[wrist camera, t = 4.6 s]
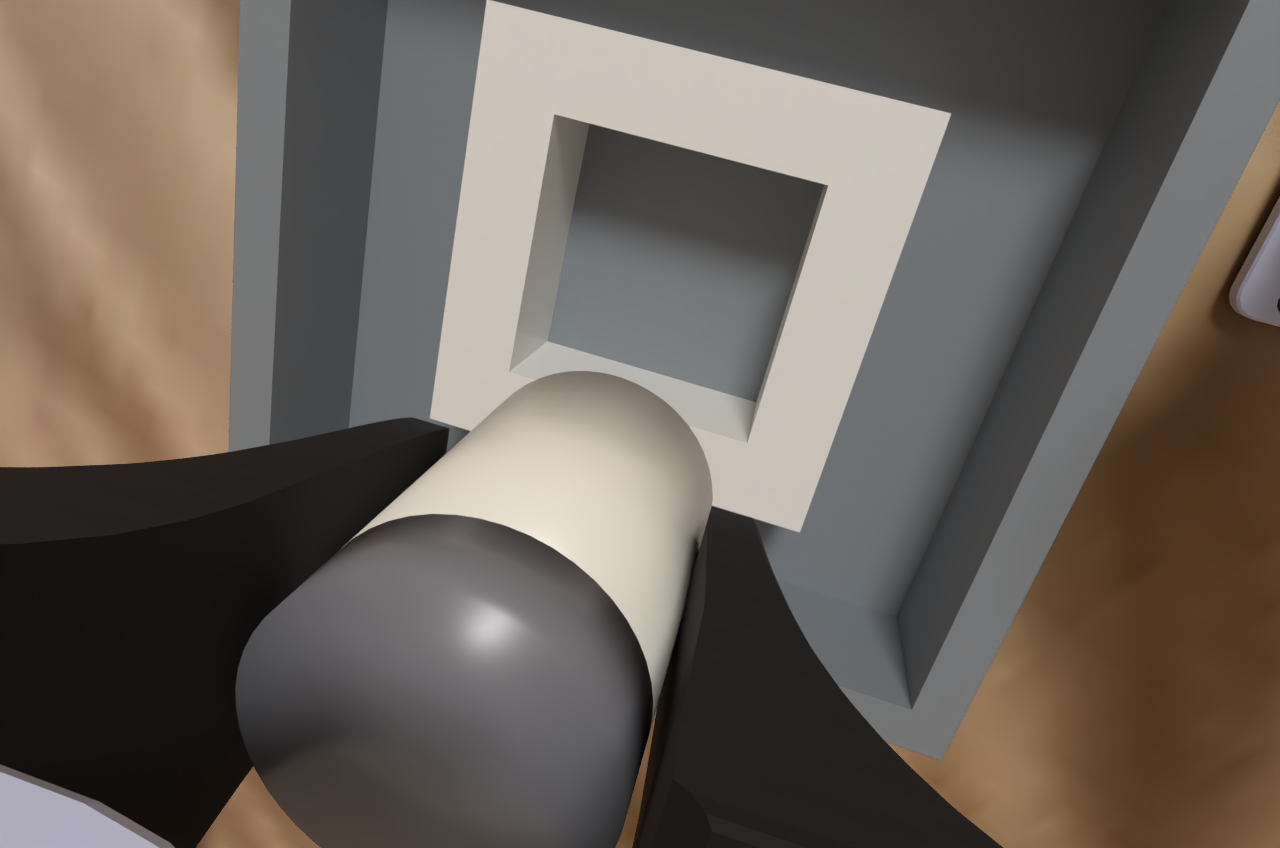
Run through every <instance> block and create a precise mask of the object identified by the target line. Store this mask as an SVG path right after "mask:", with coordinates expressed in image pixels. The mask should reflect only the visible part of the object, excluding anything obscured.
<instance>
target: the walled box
mask: <svg viewBox="0 0 1280 848" xmlns="http://www.w3.org/2000/svg"><path fill="white" fill-rule="evenodd" d="M486 1H487V0H240V30H239V69H238V107H237V146H236V184H235V222H234V261H233V299H232V338H231V376H230V414H229V452H232V451H238V450H243V449H249V448H254V447H260V446H265V445H270V444H276V443H281V442H287V441H292V440H297V439H301V438H306V437H311V436H315V435H320V434H324V433H329V432H333V431H338V430H342V429H347V428H352V427H356V426H361V425H365V424H370V423H375V422H380V421H385V420H391V419H398V418H409V417H413V418H416V419H420V420H423V421H427V422H430V423H433V424H437V425H440V426H444V427H447V428H450V429H449V437H448V444H447V452H448V451H449V450H451V449H452V448H453V447H454V446H455V445H456V444H457V443H458V442H459V441H460V440H462V439H463V438H464V437H465V436H466V435H467V434H468V433H469V432H470V431H469V430H466V429H463V428H459V427H456V426H453V425H450V424H446V423H443V422H440V421H437V420H433V419H430V413H431V406H432V398H433V391H434V384H435V376H436V369H437V362H438V354H439V347H440V339H441V332H442V325H443V317H444V310H445V303H446V295H447V288H448V281H449V273H450V266H451V259H452V251H453V244H454V236H455V229H456V222H457V214H458V207H459V200H460V192H461V185H462V178H463V170H464V163H465V156H466V148H467V141H468V133H469V126H470V119H471V111H472V104H473V97H474V89H475V82H476V75H477V67H478V60H479V53H480V45H481V38H482V31H483V23H484V16H485V8H486ZM492 1H496V2H500V3H504V4H508V5H512V6H516V7H520V8H524V9H528V10H532V11H536V12H540V13H544V14H549V15H553V16H557V17H561V18H565V19H569V20H573V21H577V22H581V23H585V24H589V25H593V26H597V27H601V28H605V29H610V30H614V31H618V32H622V33H626V34H630V35H634V36H638V37H642V38H646V39H650V40H654V41H658V42H662V43H667V44H671V45H675V46H679V47H683V48H687V49H691V50H695V51H699V52H703V53H707V54H711V55H715V56H719V57H724V58H728V59H732V60H736V61H740V62H744V63H748V64H752V65H756V66H760V67H764V68H768V69H772V70H776V71H781V72H785V73H789V74H793V75H797V76H801V77H805V78H809V79H813V80H817V81H821V82H825V83H829V84H833V85H837V86H842V87H846V88H850V89H854V90H858V91H862V92H866V93H870V94H874V95H878V96H882V97H886V98H890V99H894V100H899V101H903V102H907V103H911V104H915V105H919V106H923V107H927V108H931V109H935V110H939V111H943V112H947V113H951V116H950V119H949V122H948V124H947V127H946V130H945V133H944V135H943V138H942V141H941V144H940V147H939V149H938V152H937V155H936V158H935V160H934V163H933V166H932V169H931V171H930V174H929V177H928V180H927V182H926V185H925V188H924V191H923V194H922V196H921V199H920V202H919V205H918V207H917V210H916V213H915V216H914V218H913V221H912V224H911V227H910V230H909V232H908V235H907V238H906V241H905V243H904V246H903V249H902V252H901V254H900V257H899V260H898V263H897V265H896V268H895V271H894V274H893V277H892V279H891V282H890V285H889V288H888V290H887V293H886V296H885V299H884V301H883V304H882V307H881V310H880V312H879V315H878V318H877V321H876V324H875V326H874V329H873V332H872V335H871V337H870V340H869V343H868V346H867V348H866V351H865V354H864V357H863V359H862V362H861V365H860V368H859V371H858V373H857V376H856V379H855V382H854V384H853V387H852V390H851V393H850V395H849V398H848V401H847V404H846V406H845V409H844V412H843V415H842V418H841V420H840V423H839V426H838V429H837V431H836V434H835V437H834V440H833V442H832V445H831V448H830V451H829V454H828V456H827V459H826V462H825V465H824V467H823V470H822V473H821V476H820V478H819V481H818V484H817V487H816V489H815V492H814V495H813V498H812V501H811V503H810V506H809V509H808V512H807V514H806V517H805V520H804V523H803V525H802V528H801V531H800V533H799V532H796V531H793V530H790V529H787V528H783V527H780V526H777V525H774V524H770V523H767V522H764V521H761V520H757V519H754V518H753V519H754V521H755V523H756V524H757V526H758V529H759V533H760V536H761V539H762V543H763V546H764V549H765V551H766V554H767V557H768V560H769V562H770V565H771V567H772V570H773V572H774V575H775V577H776V580H777V582H778V584H779V586H780V588H781V590H782V593H783V595H784V597H785V599H786V601H787V604H788V606H789V608H790V610H791V612H792V614H793V616H794V617H795V619H796V621H797V623H798V625H799V627H800V629H801V630H802V632H803V634H804V636H805V637H806V639H807V641H808V643H809V645H810V646H811V648H812V649H813V651H814V652H815V654H816V655H817V657H818V658H819V660H820V661H821V662H822V664H823V665H824V667H825V668H826V669H827V671H828V672H829V674H830V675H831V676H832V678H833V679H834V681H835V682H836V683H837V685H838V686H839V688H840V689H841V690H842V692H843V693H844V694H845V695H846V697H847V698H848V699H849V700H850V702H851V703H852V704H853V705H854V706H855V708H856V709H857V710H858V711H859V712H860V713H861V715H862V716H863V717H864V718H865V719H866V720H867V721H868V723H869V724H870V725H871V726H872V727H873V728H874V729H875V730H876V732H877V733H878V734H879V735H880V736H881V737H882V738H883V740H884V741H885V742H887V743H890V744H893V745H896V746H899V747H902V748H905V749H908V750H911V751H914V752H917V753H920V754H923V755H926V756H929V757H932V758H935V759H938V760H942V758H943V756H944V754H945V752H946V750H947V748H948V747H949V745H950V743H951V741H952V739H953V737H954V735H955V733H956V731H957V729H958V727H959V725H960V723H961V721H962V719H963V717H964V715H965V713H966V711H967V709H968V708H969V706H970V704H971V702H972V700H973V698H974V696H975V694H976V692H977V690H978V688H979V686H980V684H981V682H982V680H983V678H984V676H985V674H986V672H987V670H988V669H989V667H990V665H991V663H992V661H993V659H994V657H995V655H996V653H997V651H998V649H999V647H1000V645H1001V643H1002V641H1003V639H1004V637H1005V635H1006V633H1007V631H1008V629H1009V628H1010V626H1011V624H1012V622H1013V620H1014V618H1015V616H1016V614H1017V612H1018V610H1019V608H1020V606H1021V604H1022V602H1023V600H1024V598H1025V596H1026V594H1027V592H1028V590H1029V589H1030V587H1031V585H1032V583H1033V581H1034V579H1035V577H1036V575H1037V573H1038V571H1039V569H1040V567H1041V565H1042V563H1043V561H1044V559H1045V557H1046V555H1047V553H1048V551H1049V550H1050V548H1051V546H1052V544H1053V542H1054V540H1055V538H1056V536H1057V534H1058V532H1059V530H1060V528H1061V526H1062V524H1063V522H1064V520H1065V518H1066V516H1067V514H1068V512H1069V511H1070V509H1071V507H1072V505H1073V503H1074V501H1075V499H1076V497H1077V495H1078V493H1079V491H1080V489H1081V487H1082V485H1083V483H1084V481H1085V479H1086V477H1087V475H1088V473H1089V472H1090V470H1091V468H1092V466H1093V464H1094V462H1095V460H1096V458H1097V456H1098V454H1099V452H1100V450H1101V448H1102V446H1103V444H1104V442H1105V440H1106V438H1107V436H1108V434H1109V433H1110V431H1111V429H1112V427H1113V425H1114V423H1115V421H1116V419H1117V417H1118V415H1119V413H1120V411H1121V409H1122V407H1123V405H1124V403H1125V401H1126V399H1127V397H1128V395H1129V393H1130V392H1131V390H1132V388H1133V386H1134V384H1135V382H1136V380H1137V378H1138V376H1139V374H1140V372H1141V370H1142V368H1143V366H1144V364H1145V362H1146V360H1147V358H1148V356H1149V354H1150V353H1151V351H1152V349H1153V347H1154V345H1155V343H1156V341H1157V339H1158V337H1159V335H1160V333H1161V331H1162V329H1163V327H1164V325H1165V323H1166V321H1167V319H1168V317H1169V315H1170V314H1171V312H1172V310H1173V308H1174V306H1175V304H1176V302H1177V300H1178V298H1179V296H1180V294H1181V292H1182V290H1183V288H1184V286H1185V284H1186V282H1187V280H1188V278H1189V276H1190V275H1191V273H1192V271H1193V269H1194V267H1195V265H1196V263H1197V261H1198V259H1199V257H1200V255H1201V253H1202V251H1203V249H1204V247H1205V245H1206V243H1207V241H1208V239H1209V237H1210V236H1211V234H1212V232H1213V230H1214V228H1215V226H1216V224H1217V222H1218V220H1219V218H1220V216H1221V214H1222V212H1223V210H1224V208H1225V206H1226V204H1227V202H1228V200H1229V198H1230V197H1231V195H1232V193H1233V191H1234V189H1235V187H1236V185H1237V183H1238V181H1239V179H1240V177H1241V175H1242V173H1243V171H1244V169H1245V167H1246V165H1247V163H1248V161H1249V159H1250V157H1251V156H1252V154H1253V152H1254V150H1255V148H1256V146H1257V144H1258V142H1259V140H1260V138H1261V136H1262V134H1263V132H1264V130H1265V128H1266V126H1267V124H1268V122H1269V120H1270V118H1271V117H1272V115H1273V113H1274V111H1275V109H1276V107H1277V105H1278V103H1279V101H1280V0H492ZM823 187H824V184H821V183H817V182H813V181H809V180H806V179H802V178H798V177H794V176H790V175H786V174H782V173H779V172H775V171H771V170H767V169H763V168H759V167H755V166H752V165H748V164H744V163H740V162H736V161H732V160H729V159H725V158H721V157H717V156H713V155H709V154H705V153H702V152H698V151H694V150H690V149H686V148H682V147H678V146H675V145H671V144H667V143H663V142H659V141H655V140H652V139H648V138H644V137H640V136H636V135H632V134H628V133H625V132H621V131H617V130H613V129H609V128H605V127H601V126H598V125H594V124H589V129H588V134H587V139H586V145H585V150H584V155H583V160H582V165H581V171H580V176H579V181H578V186H577V191H576V197H575V202H574V207H573V212H572V217H571V223H570V228H569V233H568V238H567V243H566V248H565V254H564V259H563V264H562V269H561V274H560V280H559V285H558V290H557V295H556V300H555V306H554V311H553V316H552V321H551V326H550V332H549V337H548V342H552V343H555V344H559V345H562V346H565V347H569V348H572V349H576V350H579V351H583V352H586V353H589V354H593V355H596V356H600V357H603V358H606V359H610V360H613V361H617V362H620V363H624V364H627V365H630V366H634V367H637V368H641V369H644V370H647V371H651V372H654V373H658V374H661V375H665V376H668V377H671V378H675V379H678V380H682V381H685V382H689V383H692V384H695V385H699V386H702V387H706V388H709V389H712V390H716V391H719V392H723V393H726V394H730V395H733V396H736V397H740V398H743V399H747V400H750V401H753V402H757V399H758V395H759V392H760V389H761V386H762V383H763V379H764V376H765V373H766V370H767V367H768V363H769V360H770V357H771V354H772V351H773V347H774V344H775V341H776V338H777V335H778V331H779V328H780V325H781V322H782V319H783V315H784V312H785V309H786V306H787V303H788V299H789V296H790V293H791V290H792V287H793V283H794V280H795V277H796V274H797V271H798V267H799V264H800V261H801V258H802V255H803V251H804V248H805V245H806V242H807V239H808V235H809V232H810V229H811V226H812V222H813V219H814V216H815V213H816V210H817V206H818V203H819V200H820V197H821V194H822V190H823ZM447 452H446V453H447ZM714 507H715V506H714ZM717 508H718V507H717ZM721 509H722V508H721ZM724 510H725V509H724ZM727 511H728V510H727ZM734 513H735V512H734Z"/></svg>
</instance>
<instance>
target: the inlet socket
mask: <svg viewBox="0 0 1280 848" xmlns="http://www.w3.org/2000/svg"><path fill="white" fill-rule="evenodd" d="M950 116H951V113H947V112H943V111H939V110H935V109H931V108H927V107H923V106H919V105H915V104H911V103H907V102H903V101H899V100H894V99H890V98H886V97H882V96H878V95H874V94H870V93H866V92H862V91H858V90H854V89H850V88H846V87H842V86H837V85H833V84H829V83H825V82H821V81H817V80H813V79H809V78H805V77H801V76H797V75H793V74H789V73H785V72H781V71H776V70H772V69H768V68H764V67H760V66H756V65H752V64H748V63H744V62H740V61H736V60H732V59H728V58H724V57H719V56H715V55H711V54H707V53H703V52H699V51H695V50H691V49H687V48H683V47H679V46H675V45H671V44H667V43H662V42H658V41H654V40H650V39H646V38H642V37H638V36H634V35H630V34H626V33H622V32H618V31H614V30H610V29H605V28H601V27H597V26H593V25H589V24H585V23H581V22H577V21H573V20H569V19H565V18H561V17H557V16H553V15H549V14H544V13H540V12H536V11H532V10H528V9H524V8H520V7H516V6H512V5H508V4H504V3H500V2H496V1H492V0H487V1H486V8H485V16H484V23H483V31H482V38H481V45H480V53H479V60H478V67H477V75H476V82H475V89H474V97H473V104H472V111H471V119H470V126H469V133H468V141H467V148H466V156H465V163H464V170H463V178H462V185H461V192H460V200H459V207H458V214H457V222H456V229H455V236H454V244H453V251H452V259H451V266H450V273H449V281H448V288H447V295H446V303H445V310H444V317H443V325H442V332H441V339H440V347H439V354H438V362H437V369H436V376H435V384H434V391H433V398H432V406H431V413H430V419H433V420H437V421H440V422H443V423H446V424H450V425H453V426H456V427H459V428H463V429H466V430H469V431H472V430H473V429H474V428H475V427H476V426H477V425H478V424H479V423H480V422H481V421H483V420H484V419H485V418H486V417H487V416H488V415H489V414H490V413H491V412H493V411H494V410H495V409H496V408H497V407H498V406H499V405H500V404H501V403H503V402H504V401H505V400H506V399H507V398H508V397H509V396H510V395H512V394H513V393H514V392H515V391H517V390H518V389H520V388H521V387H523V386H524V385H526V384H528V383H530V382H532V381H534V380H537V379H539V378H541V377H545V376H548V375H552V374H555V373H561V372H568V371H592V372H600V373H606V374H610V375H614V376H618V377H621V378H624V379H626V380H629V381H632V382H634V383H636V384H638V385H640V386H642V387H644V388H646V389H648V390H650V391H651V392H653V393H654V394H655V395H657V396H658V397H660V398H661V399H663V400H664V401H665V402H666V403H667V404H669V405H670V406H671V407H672V408H673V409H674V410H675V411H676V412H677V413H678V414H679V415H680V416H681V417H682V418H683V420H684V421H685V422H686V423H687V424H688V426H689V427H690V429H691V430H692V432H693V433H694V435H695V436H696V438H697V439H698V441H699V443H700V445H701V447H702V449H703V451H704V454H705V457H706V460H707V463H708V466H709V469H710V474H711V480H712V492H713V500H712V506H715V507H718V508H722V509H725V510H728V511H731V512H735V513H738V514H741V515H744V516H748V517H751V518H754V519H757V520H761V521H764V522H767V523H770V524H774V525H777V526H780V527H783V528H787V529H790V530H793V531H796V532H799V533H800V531H801V528H802V525H803V523H804V520H805V517H806V514H807V512H808V509H809V506H810V503H811V501H812V498H813V495H814V492H815V489H816V487H817V484H818V481H819V478H820V476H821V473H822V470H823V467H824V465H825V462H826V459H827V456H828V454H829V451H830V448H831V445H832V442H833V440H834V437H835V434H836V431H837V429H838V426H839V423H840V420H841V418H842V415H843V412H844V409H845V406H846V404H847V401H848V398H849V395H850V393H851V390H852V387H853V384H854V382H855V379H856V376H857V373H858V371H859V368H860V365H861V362H862V359H863V357H864V354H865V351H866V348H867V346H868V343H869V340H870V337H871V335H872V332H873V329H874V326H875V324H876V321H877V318H878V315H879V312H880V310H881V307H882V304H883V301H884V299H885V296H886V293H887V290H888V288H889V285H890V282H891V279H892V277H893V274H894V271H895V268H896V265H897V263H898V260H899V257H900V254H901V252H902V249H903V246H904V243H905V241H906V238H907V235H908V232H909V230H910V227H911V224H912V221H913V218H914V216H915V213H916V210H917V207H918V205H919V202H920V199H921V196H922V194H923V191H924V188H925V185H926V182H927V180H928V177H929V174H930V171H931V169H932V166H933V163H934V160H935V158H936V155H937V152H938V149H939V147H940V144H941V141H942V138H943V135H944V133H945V130H946V127H947V124H948V122H949V119H950ZM589 124H594V125H598V126H601V127H605V128H609V129H613V130H617V131H621V132H625V133H628V134H632V135H636V136H640V137H644V138H648V139H652V140H655V141H659V142H663V143H667V144H671V145H675V146H678V147H682V148H686V149H690V150H694V151H698V152H702V153H705V154H709V155H713V156H717V157H721V158H725V159H729V160H732V161H736V162H740V163H744V164H748V165H752V166H755V167H759V168H763V169H767V170H771V171H775V172H779V173H782V174H786V175H790V176H794V177H798V178H802V179H806V180H809V181H813V182H817V183H821V184H824V187H823V190H822V194H821V197H820V200H819V203H818V206H817V210H816V213H815V216H814V219H813V222H812V226H811V229H810V232H809V235H808V239H807V242H806V245H805V248H804V251H803V255H802V258H801V261H800V264H799V267H798V271H797V274H796V277H795V280H794V283H793V287H792V290H791V293H790V296H789V299H788V303H787V306H786V309H785V312H784V315H783V319H782V322H781V325H780V328H779V331H778V335H777V338H776V341H775V344H774V347H773V351H772V354H771V357H770V360H769V363H768V367H767V370H766V373H765V376H764V379H763V383H762V386H761V389H760V392H759V395H758V399H757V402H753V401H750V400H747V399H743V398H740V397H736V396H733V395H730V394H726V393H723V392H719V391H716V390H712V389H709V388H706V387H702V386H699V385H695V384H692V383H689V382H685V381H682V380H678V379H675V378H671V377H668V376H665V375H661V374H658V373H654V372H651V371H647V370H644V369H641V368H637V367H634V366H630V365H627V364H624V363H620V362H617V361H613V360H610V359H606V358H603V357H600V356H596V355H593V354H589V353H586V352H583V351H579V350H576V349H572V348H569V347H565V346H562V345H559V344H555V343H552V342H548V337H549V332H550V326H551V321H552V316H553V311H554V306H555V300H556V295H557V290H558V285H559V280H560V274H561V269H562V264H563V259H564V254H565V248H566V243H567V238H568V233H569V228H570V223H571V217H572V212H573V207H574V202H575V197H576V191H577V186H578V181H579V176H580V171H581V165H582V160H583V155H584V150H585V145H586V139H587V134H588V129H589Z"/></svg>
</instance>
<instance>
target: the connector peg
mask: <svg viewBox="0 0 1280 848" xmlns="http://www.w3.org/2000/svg"><path fill="white" fill-rule="evenodd" d="M712 500H713V492H712V480H711V474H710V469H709V466H708V463H707V460H706V457H705V454H704V451H703V449H702V447H701V445H700V443H699V441H698V439H697V438H696V436H695V435H694V433H693V432H692V430H691V429H690V427H689V426H688V424H687V423H686V422H685V421H684V420H683V418H682V417H681V416H680V415H679V414H678V413H677V412H676V411H675V410H674V409H673V408H672V407H671V406H670V405H669V404H667V403H666V402H665V401H664V400H663V399H661V398H660V397H658V396H657V395H655V394H654V393H653V392H651V391H650V390H648V389H646V388H644V387H642V386H640V385H638V384H636V383H634V382H632V381H629V380H626V379H624V378H621V377H618V376H614V375H610V374H606V373H600V372H592V371H568V372H561V373H555V374H552V375H548V376H545V377H541V378H539V379H537V380H534V381H532V382H530V383H528V384H526V385H524V386H523V387H521V388H520V389H518V390H517V391H515V392H514V393H513V394H512V395H510V396H509V397H508V398H507V399H506V400H505V401H504V402H503V403H501V404H500V405H499V406H498V407H497V408H496V409H495V410H494V411H493V412H491V413H490V414H489V415H488V416H487V417H486V418H485V419H484V420H483V421H481V422H480V423H479V424H478V425H477V426H476V427H475V428H474V429H473V430H472V431H470V432H469V433H468V434H467V435H466V436H465V437H464V438H463V439H462V440H460V441H459V442H458V443H457V444H456V445H455V446H454V447H453V448H452V449H451V450H449V451H448V452H447V453H446V454H445V455H444V456H443V457H442V458H441V459H439V460H438V461H437V462H436V463H435V464H434V465H433V466H432V467H431V468H430V469H428V470H427V471H426V472H425V473H424V474H423V475H422V476H421V477H420V478H418V479H417V480H416V481H415V482H414V483H413V484H412V485H411V486H410V487H409V488H407V489H406V490H405V491H404V492H403V493H402V494H401V495H400V496H399V497H397V498H396V499H395V500H394V501H393V502H392V503H391V504H390V505H389V506H387V507H386V508H385V509H384V510H383V511H382V512H381V513H380V514H379V515H378V516H376V517H375V518H374V519H373V520H372V521H371V522H370V523H369V524H368V525H366V526H365V527H364V528H363V529H362V530H361V531H360V532H359V533H358V534H357V535H355V536H354V537H353V538H352V539H351V540H350V541H349V542H348V543H347V544H345V545H344V546H343V547H342V548H341V549H340V550H339V551H338V552H337V553H336V554H334V555H333V556H332V557H331V558H330V559H329V560H328V561H327V562H326V563H324V564H323V565H322V566H321V567H320V568H319V569H318V570H317V571H316V572H314V573H313V574H312V575H311V576H310V577H309V578H308V579H307V580H306V581H305V582H303V583H302V584H301V585H300V586H299V587H298V588H297V589H296V590H295V591H293V592H292V593H291V594H290V595H289V596H288V597H287V598H286V599H285V600H284V601H282V602H281V603H280V604H279V605H278V606H277V607H276V608H275V609H274V610H272V611H271V612H270V613H269V614H268V615H267V616H266V617H265V618H264V619H263V620H262V622H261V623H260V624H259V625H258V627H257V628H256V629H255V630H254V632H253V633H252V635H251V637H250V639H249V641H248V643H247V644H246V646H245V648H244V650H243V653H242V657H241V660H240V663H239V666H238V671H237V679H236V687H235V692H236V711H237V716H238V722H239V728H240V731H241V734H242V737H243V741H244V744H245V747H246V750H247V752H248V754H249V756H250V759H251V761H252V763H253V765H254V767H255V770H256V771H257V773H258V775H259V776H260V778H261V780H262V781H263V783H264V785H265V786H266V788H267V790H268V791H269V792H270V794H271V795H272V796H273V798H274V799H275V800H276V802H277V803H278V805H279V806H280V807H281V808H282V810H283V811H284V812H285V813H286V814H287V815H288V816H289V817H290V819H291V820H292V821H293V822H294V823H295V824H296V825H297V826H298V827H299V828H300V829H301V830H302V831H303V832H304V833H305V834H306V835H307V836H308V837H309V838H310V839H312V840H313V841H314V842H315V843H316V844H317V845H319V846H320V847H321V848H615V846H616V844H617V842H618V840H619V837H620V835H621V832H622V829H623V825H624V822H625V818H626V814H627V811H628V807H629V804H630V800H631V797H632V793H633V790H634V786H635V783H636V779H637V775H638V772H639V768H640V765H641V761H642V758H643V754H644V751H645V747H646V744H647V740H648V736H649V733H650V729H651V726H652V722H653V719H654V715H655V712H656V708H657V704H658V701H659V697H660V694H661V690H662V687H663V683H664V680H665V676H666V673H667V669H668V665H669V662H670V658H671V655H672V651H673V648H674V644H675V641H676V637H677V634H678V630H679V626H680V622H681V618H682V615H683V611H684V606H685V601H686V596H687V591H688V587H689V583H690V580H691V576H692V573H693V569H694V566H695V562H696V559H697V555H698V552H699V548H700V545H701V541H702V538H703V534H704V531H705V528H706V524H707V521H708V517H709V514H710V510H711V507H712Z"/></svg>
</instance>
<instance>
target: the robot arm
mask: <svg viewBox="0 0 1280 848" xmlns="http://www.w3.org/2000/svg"><path fill="white" fill-rule="evenodd" d="M1279 298H1280V197H1279V199H1278V201H1277V203H1276V204H1275V206H1274V208H1273V210H1272V212H1271V214H1270V216H1269V217H1268V219H1267V221H1266V223H1265V225H1264V227H1263V229H1262V230H1261V232H1260V234H1259V236H1258V238H1257V240H1256V242H1255V244H1254V245H1253V247H1252V249H1251V251H1250V253H1249V255H1248V257H1247V258H1246V260H1245V262H1244V264H1243V266H1242V268H1241V270H1240V271H1239V273H1238V275H1237V277H1236V279H1235V281H1234V283H1233V285H1232V287H1231V290H1230V293H1229V301H1230V305H1231V307H1232V308H1233V309H1234V311H1235V312H1237V313H1239V314H1241V315H1243V316H1245V317H1247V318H1249V319H1252V320H1255V321H1259V322H1263V323H1267V324H1271V325H1274V326H1278V327H1280V312H1279V311H1278V308H1277V303H1278V299H1279ZM449 429H450V428H447V427H444V426H440V425H437V424H433V423H430V422H427V421H423V420H420V419H416V418H413V417H409V418H398V419H391V420H385V421H380V422H375V423H370V424H365V425H361V426H356V427H352V428H347V429H342V430H338V431H333V432H329V433H324V434H320V435H315V436H311V437H306V438H301V439H297V440H292V441H287V442H281V443H276V444H270V445H265V446H260V447H254V448H249V449H243V450H238V451H232V452H227V453H221V454H214V455H207V456H199V457H192V458H184V459H174V460H164V461H154V462H145V463H132V464H113V465H89V466H66V467H32V468H27V467H0V848H196V846H197V845H198V843H199V842H200V840H201V839H202V838H203V836H204V835H205V833H206V832H207V830H208V829H209V828H210V826H211V825H212V823H213V822H214V820H215V819H216V818H217V816H218V815H219V813H220V812H221V810H222V809H223V808H224V806H225V805H226V803H227V802H228V800H229V799H230V798H231V796H232V795H233V793H234V792H235V790H236V789H237V788H238V786H239V785H240V783H241V782H242V781H243V779H244V778H245V777H246V775H247V774H248V772H249V771H250V770H251V768H252V767H253V766H254V765H253V763H252V761H251V759H250V756H249V754H248V752H247V750H246V747H245V744H244V741H243V737H242V734H241V731H240V728H239V722H238V716H237V711H236V692H235V687H236V679H237V671H238V666H239V663H240V660H241V657H242V653H243V650H244V648H245V646H246V644H247V643H248V641H249V639H250V637H251V635H252V633H253V632H254V630H255V629H256V628H257V627H258V625H259V624H260V623H261V622H262V620H263V619H264V618H265V617H266V616H267V615H268V614H269V613H270V612H271V611H272V610H274V609H275V608H276V607H277V606H278V605H279V604H280V603H281V602H282V601H284V600H285V599H286V598H287V597H288V596H289V595H290V594H291V593H292V592H293V591H295V590H296V589H297V588H298V587H299V586H300V585H301V584H302V583H303V582H305V581H306V580H307V579H308V578H309V577H310V576H311V575H312V574H313V573H314V572H316V571H317V570H318V569H319V568H320V567H321V566H322V565H323V564H324V563H326V562H327V561H328V560H329V559H330V558H331V557H332V556H333V555H334V554H336V553H337V552H338V551H339V550H340V549H341V548H342V547H343V546H344V545H345V544H347V543H348V542H349V541H350V540H351V539H352V538H353V537H354V536H355V535H357V534H358V533H359V532H360V531H361V530H362V529H363V528H364V527H365V526H366V525H368V524H369V523H370V522H371V521H372V520H373V519H374V518H375V517H376V516H378V515H379V514H380V513H381V512H382V511H383V510H384V509H385V508H386V507H387V506H389V505H390V504H391V503H392V502H393V501H394V500H395V499H396V498H397V497H399V496H400V495H401V494H402V493H403V492H404V491H405V490H406V489H407V488H409V487H410V486H411V485H412V484H413V483H414V482H415V481H416V480H417V479H418V478H420V477H421V476H422V475H423V474H424V473H425V472H426V471H427V470H428V469H430V468H431V467H432V466H433V465H434V464H435V463H436V462H437V461H438V460H439V459H441V458H442V457H443V456H444V455H445V454H446V452H447V444H448V437H449ZM632 848H1003V847H1002V846H1000V845H999V844H998V843H997V842H995V841H994V840H993V839H992V838H990V837H989V836H988V835H987V834H985V833H984V832H983V831H982V830H981V829H979V828H978V827H977V826H976V825H974V824H973V823H972V822H971V821H969V820H968V819H967V818H966V817H964V816H963V815H962V814H961V813H959V812H958V811H957V810H956V809H955V808H954V807H953V806H951V805H950V804H949V803H948V802H947V801H946V800H945V799H944V798H943V797H942V796H940V795H939V794H938V793H937V792H936V791H935V790H934V789H933V788H932V787H931V786H930V785H929V784H928V783H927V782H926V781H924V780H923V779H922V778H921V777H920V776H919V775H918V774H917V773H916V772H915V771H914V770H913V769H912V768H911V767H910V766H909V765H908V764H907V763H906V762H905V761H904V760H903V759H902V758H901V757H900V756H899V755H898V754H897V753H896V752H895V751H894V750H893V749H892V748H891V747H890V746H889V745H888V744H887V743H886V742H885V741H884V740H883V738H882V737H881V736H880V735H879V734H878V733H877V732H876V730H875V729H874V728H873V727H872V726H871V725H870V724H869V723H868V721H867V720H866V719H865V718H864V717H863V716H862V715H861V713H860V712H859V711H858V710H857V709H856V708H855V706H854V705H853V704H852V703H851V702H850V700H849V699H848V698H847V697H846V695H845V694H844V693H843V692H842V690H841V689H840V688H839V686H838V685H837V683H836V682H835V681H834V679H833V678H832V676H831V675H830V674H829V672H828V671H827V669H826V668H825V667H824V665H823V664H822V662H821V661H820V660H819V658H818V657H817V655H816V654H815V652H814V651H813V649H812V648H811V646H810V645H809V643H808V641H807V639H806V637H805V636H804V634H803V632H802V630H801V629H800V627H799V625H798V623H797V621H796V619H795V617H794V616H793V614H792V612H791V610H790V608H789V606H788V604H787V601H786V599H785V597H784V595H783V593H782V590H781V588H780V586H779V584H778V582H777V580H776V577H775V575H774V572H773V570H772V567H771V565H770V562H769V560H768V557H767V554H766V551H765V549H764V546H763V543H762V539H761V536H760V533H759V529H758V526H757V524H756V523H755V521H754V519H753V518H751V517H748V516H744V515H741V514H738V513H734V512H731V511H727V510H724V509H721V508H717V507H714V506H712V507H711V510H710V514H709V517H708V521H707V524H706V528H705V531H704V534H703V538H702V541H701V545H700V548H699V552H698V555H697V559H696V562H695V566H694V569H693V573H692V576H691V580H690V583H689V587H688V591H687V596H686V601H685V606H684V611H683V615H682V618H681V622H680V626H679V630H678V634H677V637H676V641H675V644H674V648H673V651H672V655H671V658H670V662H669V665H668V669H667V673H666V676H665V680H664V683H663V687H662V690H661V694H660V697H659V701H658V707H657V713H656V719H655V725H654V731H653V737H652V743H651V749H650V755H649V761H648V767H647V773H646V779H645V785H644V791H643V797H642V803H641V809H640V815H639V819H638V824H637V829H636V833H635V838H634V843H633V847H632Z"/></svg>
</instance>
